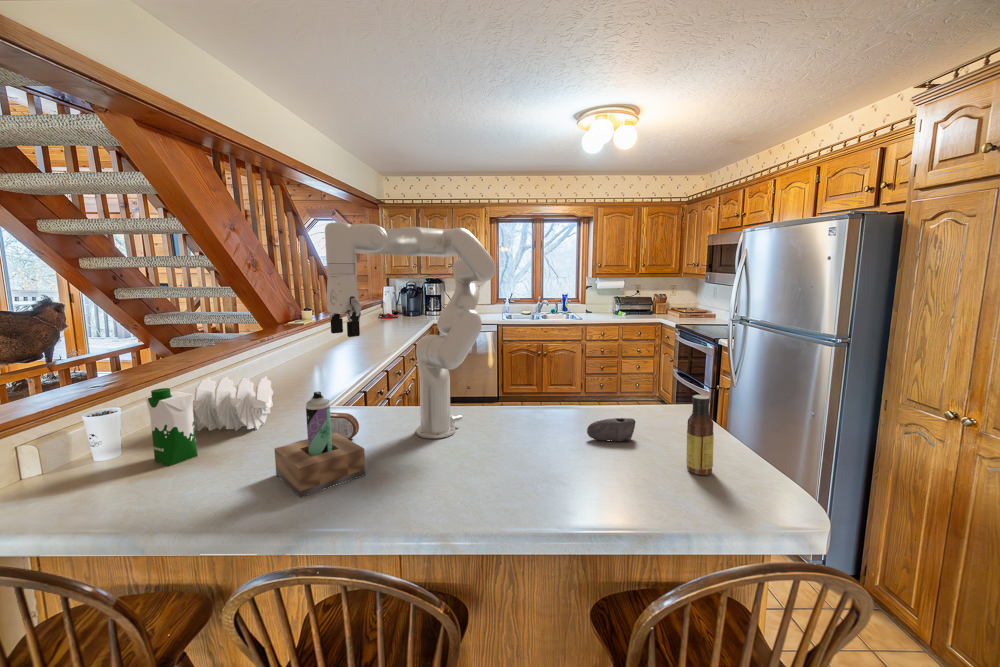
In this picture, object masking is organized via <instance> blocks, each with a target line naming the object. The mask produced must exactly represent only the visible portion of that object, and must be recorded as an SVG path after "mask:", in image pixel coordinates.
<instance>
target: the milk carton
mask: <svg viewBox="0 0 1000 667" xmlns="http://www.w3.org/2000/svg"><path fill="white" fill-rule="evenodd" d="M150 392H151V393H150V395H151V396H148V397H145V400H146V405H147V409H148V412H149V416H150V417H149V418H150V426H151V436H152V445H153V453H154V454H153V456H154V462H156V463H159V464H161V465H162V464H163V465H165V466H169V467H170V466H173V465H176V464H179V463H182V462H185V461H187V459H188V460H191V459H193V458H196V457H198V449H197V438H196V431H195V430H196V429H195V428H194V417H193V401H194V393H190V392H183V391H178V390H176V391H171V388H167V387H165V388H164V387H163V388H155V389H153V390H151V391H150ZM195 456H196V457H195ZM192 457H193V458H192Z"/></svg>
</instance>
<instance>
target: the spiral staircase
mask: <svg viewBox="0 0 1000 667" xmlns="http://www.w3.org/2000/svg"><path fill="white" fill-rule="evenodd" d="M239 380H240V381H239V382H238V384H237V386H236V387H235V385H234V379H230V378H229V376H228V375H227V376H224V377H223V378H222V379H221V378H219V380H218V382H216V381H215V380H211V377H210V376H207V377H205V378H204V379H203V378H200V380H199V382H198V384H197V386H196V388H195V392H194V398H193V417H194V428H195V430H197V431H198V432H201V430H202V429H203V428H204V427H206V428H208V431H213V430H215V429H218V430H219V431H221V430H222V428H223V427H225V429H226V430H235V432H238V431H239V430H240V429H241V427H242V426H243V427H246V430H250V429H255V430H256V429H258V430H259V429H260V427H261V426H262V425H265V424H266V420H267V417H268V414H271V408H272V407H273V406H274V404H273V398H272V397H273V395H274V391H273V389H272V380H269V379H268V376H267V375H265V376H264V377H259V379H258V382H257V385H256V388H255V389H254V386H255V383H254V382H252V381H251V379H250V377H249V376H248V377H246V378H244V377H242V378H240V379H239ZM216 383H217V384H216ZM238 429H239V430H238ZM237 430H238V431H237Z"/></svg>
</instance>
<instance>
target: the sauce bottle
mask: <svg viewBox="0 0 1000 667" xmlns="http://www.w3.org/2000/svg"><path fill="white" fill-rule="evenodd" d="M691 398H692V399H691V401H692V412H691V414H690V416H689V418H688V419H687V429H686V469H687V471H689V473H691V474H693V473H694V474H695V475H698V476H709V475H711V474H712V473H713V467H714V445H715V444H714V443H715V441H714V440H715V439H714V436H715V435H714V434H715V433H714V421H713V420H712V419H713V418H712V417H711V416H710V411H709V409H710V402H711V398H710V397H709V396H708V395H704V394H695V395H692V397H691Z"/></svg>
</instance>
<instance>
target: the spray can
mask: <svg viewBox="0 0 1000 667" xmlns="http://www.w3.org/2000/svg"><path fill="white" fill-rule="evenodd" d="M305 404H306V405H305V412H306V413H305V414H306V429H307V430H306V431H307V432H306V433H307V440H308V452H309V456H311V457H312V456H315V455H318V454H322V453H325V452H329V451H332V440H331V419H330V412H331V403H330V400H329V399H328V398H325V397H324V396H323V395H322V391H314V392H313V396H312V397H311V399H310V400H308V401H306V403H305Z"/></svg>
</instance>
